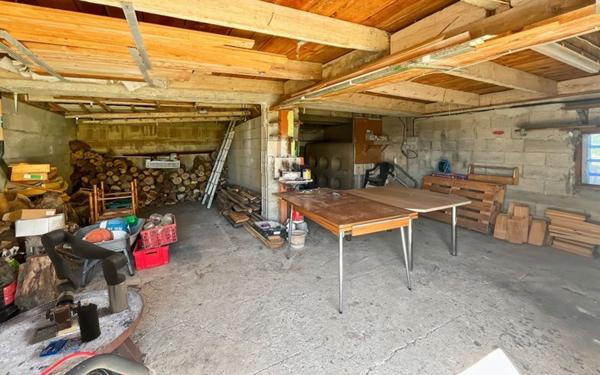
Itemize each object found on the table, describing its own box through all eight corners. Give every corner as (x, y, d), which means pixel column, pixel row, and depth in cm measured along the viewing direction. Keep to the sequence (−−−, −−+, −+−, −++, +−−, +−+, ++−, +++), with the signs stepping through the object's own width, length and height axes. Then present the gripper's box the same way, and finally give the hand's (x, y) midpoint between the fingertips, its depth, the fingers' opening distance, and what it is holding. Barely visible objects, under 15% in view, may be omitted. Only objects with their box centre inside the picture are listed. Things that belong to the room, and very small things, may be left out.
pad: (78, 318, 148) (78, 318, 148) (76, 329, 140) (76, 329, 140) (59, 324, 143) (59, 324, 143) (57, 335, 135) (57, 335, 135)
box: (56, 332, 137) (53, 311, 135) (58, 327, 141) (54, 306, 138) (72, 328, 141) (68, 307, 138) (73, 322, 144) (69, 303, 142)
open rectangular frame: (58, 324, 143) (57, 319, 143) (56, 336, 135) (55, 331, 134) (35, 331, 138) (34, 325, 137) (31, 344, 129) (30, 339, 129)
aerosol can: (105, 332, 138) (100, 298, 134) (88, 344, 131) (82, 308, 127) (93, 328, 141) (89, 294, 137) (76, 339, 133) (70, 304, 129)
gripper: (47, 299, 146) (42, 315, 133) (81, 290, 154) (79, 305, 142) (49, 311, 147) (45, 329, 135) (82, 302, 156) (81, 318, 143)
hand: (62, 317), depth 138 cm, fingers open, 8 cm apart
